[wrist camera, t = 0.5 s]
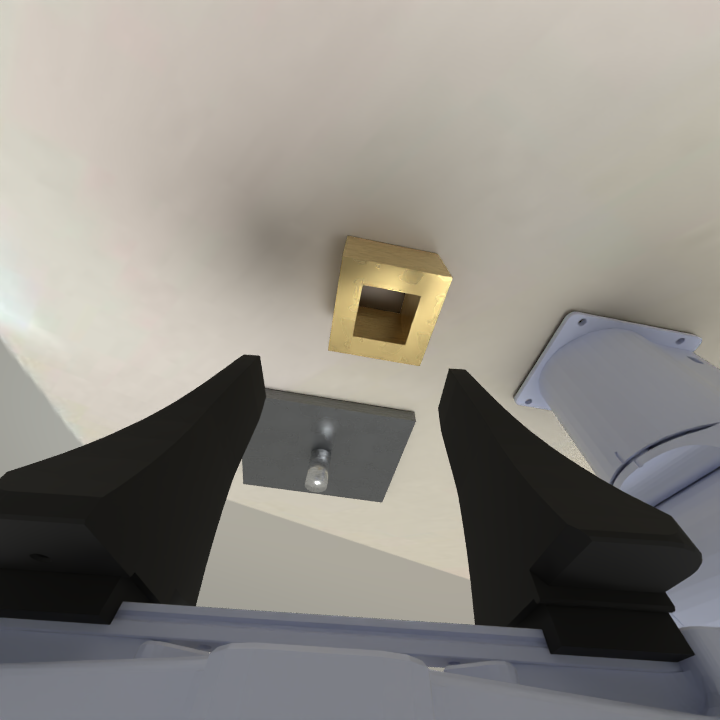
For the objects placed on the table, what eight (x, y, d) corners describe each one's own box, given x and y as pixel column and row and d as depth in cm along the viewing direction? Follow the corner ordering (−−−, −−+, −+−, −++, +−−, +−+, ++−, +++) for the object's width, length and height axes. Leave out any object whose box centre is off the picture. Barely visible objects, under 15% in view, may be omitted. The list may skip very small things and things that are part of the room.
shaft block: (414, 412, 26) (420, 451, 22) (381, 493, 32) (383, 532, 29) (243, 385, 24) (223, 422, 21) (246, 474, 31) (232, 513, 28)
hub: (437, 254, 18) (452, 277, 15) (412, 332, 21) (419, 366, 18) (347, 235, 18) (342, 256, 14) (334, 318, 21) (328, 350, 18)
